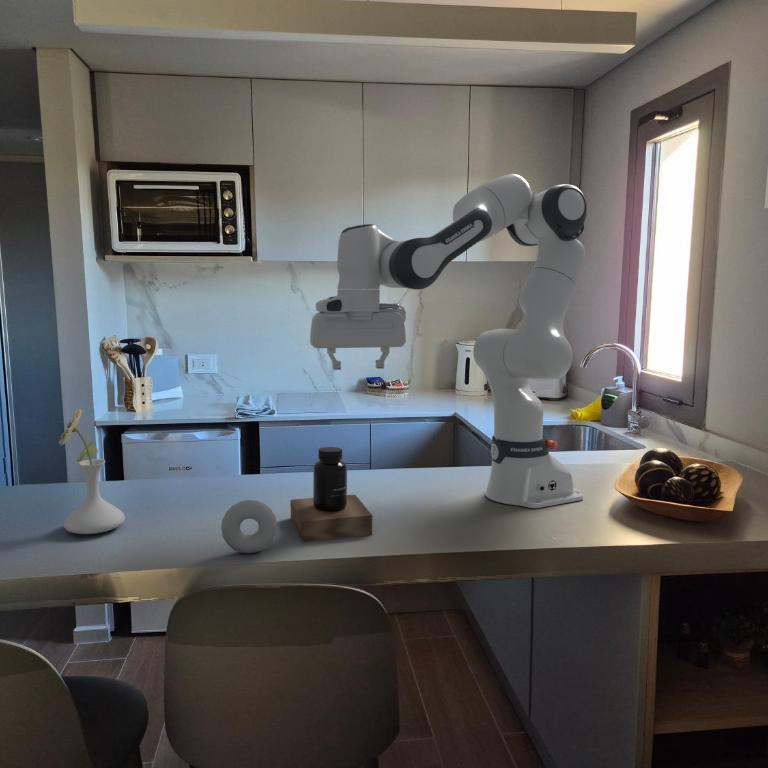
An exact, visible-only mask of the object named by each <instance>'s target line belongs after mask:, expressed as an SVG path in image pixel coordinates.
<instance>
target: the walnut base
mask: <svg viewBox="0 0 768 768" xmlns="http://www.w3.org/2000/svg"><path fill="white" fill-rule="evenodd" d="M290 520H291V522H292V524H293V526H294V529H295V530H296V532H297V534H298V537H299V539H300V541H301V542H302V541H303V542H312V541H313V540H314V541H320V540H332V539H342V538H352V537H353V536H354V537H361V536H372V535H373V513H371V512H370V510H369V509H368V508H367V507H366V505H365V504H364V503H363V502H362V500H360V498H359V497H358V496H357V494H347V505H346V507H345V508H344V509H342V510H338V511H321V510H318V509H316V508H315V507H314V505H313V497H308V498H297V499H290Z"/></svg>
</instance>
